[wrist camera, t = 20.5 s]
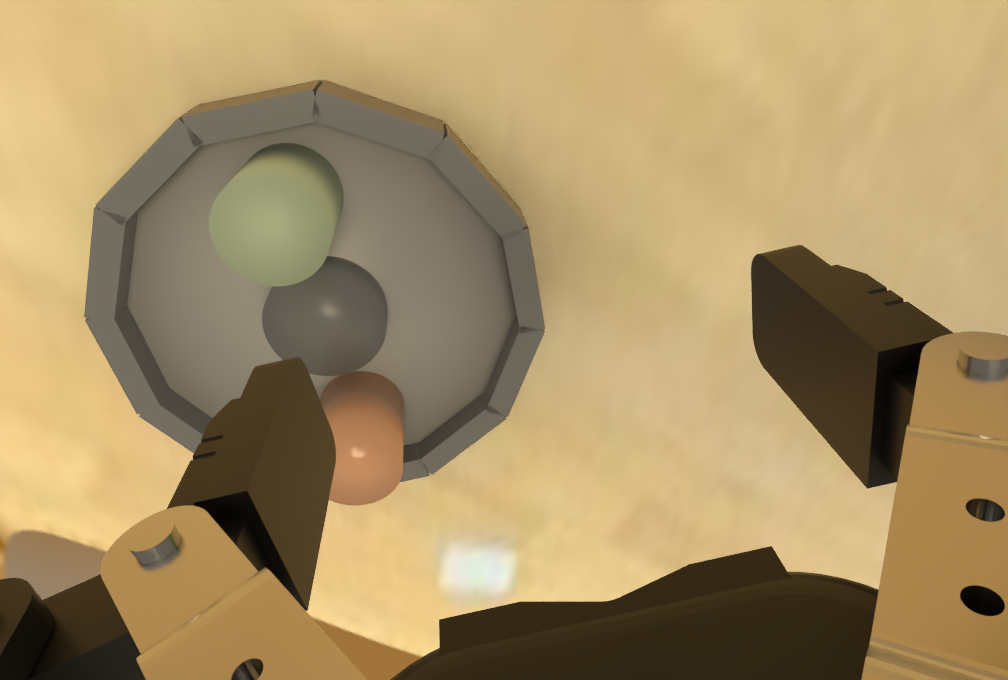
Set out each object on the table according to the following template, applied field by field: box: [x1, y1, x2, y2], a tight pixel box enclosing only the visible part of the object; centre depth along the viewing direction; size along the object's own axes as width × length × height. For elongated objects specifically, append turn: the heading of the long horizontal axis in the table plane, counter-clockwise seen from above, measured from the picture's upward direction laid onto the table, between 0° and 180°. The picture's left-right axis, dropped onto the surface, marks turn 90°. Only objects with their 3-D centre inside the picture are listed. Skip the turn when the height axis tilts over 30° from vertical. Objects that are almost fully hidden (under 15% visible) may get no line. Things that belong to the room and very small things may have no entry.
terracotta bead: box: [320, 371, 405, 505], centre depth 33 cm, size 4×4×5 cm
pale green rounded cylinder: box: [209, 143, 344, 286], centre depth 28 cm, size 4×4×5 cm
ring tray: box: [84, 80, 545, 482], centre depth 32 cm, size 20×20×2 cm
